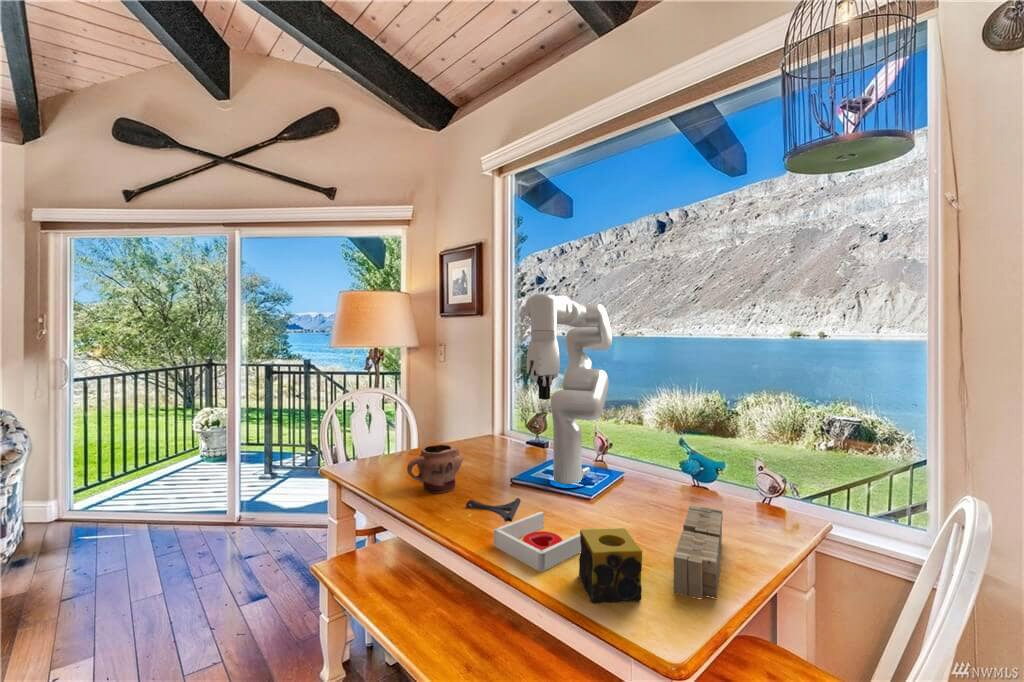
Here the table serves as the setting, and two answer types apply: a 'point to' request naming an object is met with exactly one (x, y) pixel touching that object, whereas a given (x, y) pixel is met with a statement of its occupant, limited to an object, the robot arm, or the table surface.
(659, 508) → the table surface
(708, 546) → the block tower
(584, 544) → the olive cube with hole
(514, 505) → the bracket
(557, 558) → the rail
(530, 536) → the decorative ornament
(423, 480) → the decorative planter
